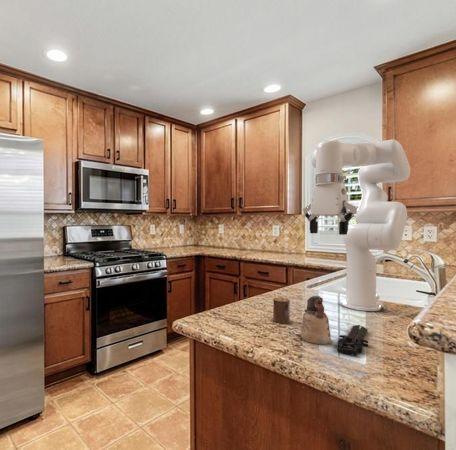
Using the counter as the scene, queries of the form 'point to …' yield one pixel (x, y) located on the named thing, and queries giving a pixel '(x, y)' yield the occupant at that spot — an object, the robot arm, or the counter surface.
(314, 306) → the figurine
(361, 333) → the dark flat slotted piece
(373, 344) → the counter surface
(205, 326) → the counter surface
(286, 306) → the glossy brown cylinder
